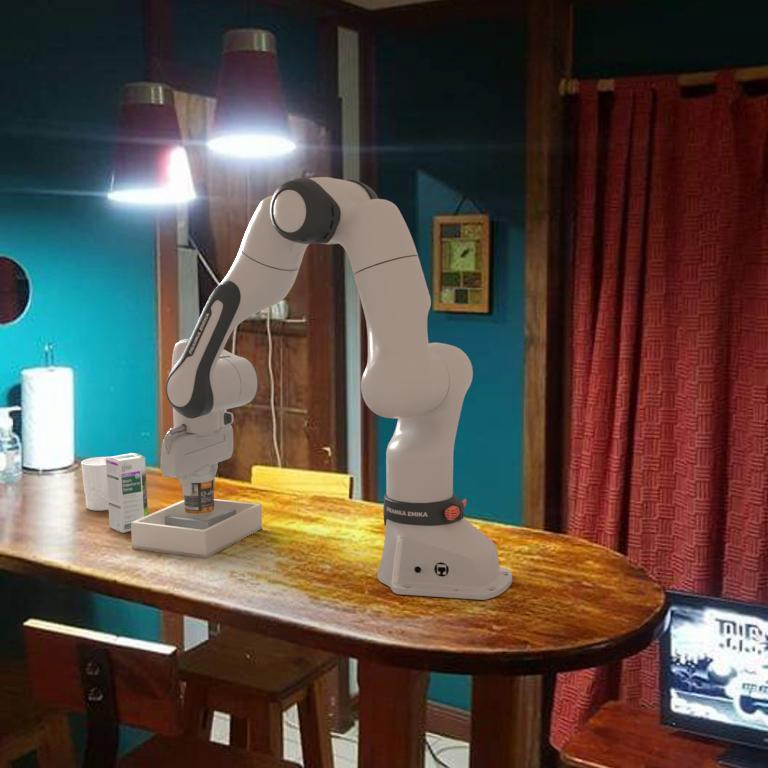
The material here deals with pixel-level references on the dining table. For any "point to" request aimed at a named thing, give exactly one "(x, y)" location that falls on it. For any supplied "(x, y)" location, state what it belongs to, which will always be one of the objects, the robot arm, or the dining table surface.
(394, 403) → the robot arm
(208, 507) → the pill bottle
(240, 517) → the box
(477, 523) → the dining table surface
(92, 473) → the white cup
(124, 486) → the syrup box
